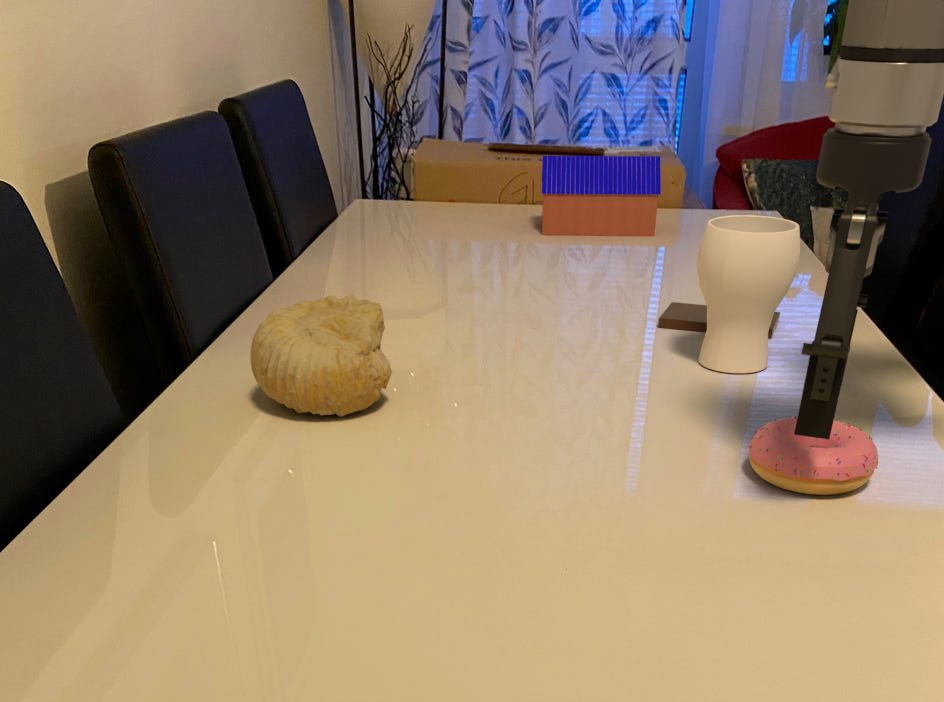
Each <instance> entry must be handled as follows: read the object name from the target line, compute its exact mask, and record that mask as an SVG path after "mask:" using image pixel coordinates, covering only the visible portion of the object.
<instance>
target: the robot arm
mask: <svg viewBox="0 0 944 702" xmlns="http://www.w3.org/2000/svg"><path fill="white" fill-rule="evenodd" d="M838 57H839V58H838V62H837V66H836V67H837V70H838V72H831V73H828V74H827V76H826V77H825V79H824V87H825V88H826V89H836V91H835V92H834V93H832V95H831V96H830V103H829V107H828V113H827V117H828V119H829V120H830V121H831V122H832V123H834V124H835V125H834V127H830V128H828V129H827V131H826V132H824V133H823V136H822V143H821V148H820V152H819V158H818V163H817V169H816V174H815V178H816V181H817V182H818V183H819V184H820V185H821V186H823V187H826V188H830V189H833V190H844V191H846V192H847V198H846V202H845V208H840V207H835V208H834V212H833V213H832V216H831V221H830V225H829V230H828V239H829V245H828V249H827V253H826V258H825V265H824V270H825V272H826V273H827V274H828V276H827V280H826V285H825V289H824V294H823V298H822V302H821V308H820V312H819V316H818V321H817V325H816V331H815V335H814V340H813V341H811V342H810V343H809V342H803V343H802V348H801V355H803V356H809V359H808V364H807V367H806V368H807V369H806V373H805V378H804V383H803V389H802V393H801V398H800V403H799V408H798V414H797V417H798V418H797V423H796V427H795V432H794V435H801V436H808V437H815V438H822V439H830V434H831V430H832V425H833V421H835V417H836V416H835V415H836V411H837V407H838V402H839V398H840V393H841V388H842V385H843V381H844V375H845V371H846V367H847V362H848V357H849V354H850V350H851V341H852V337H853V334H854V329H855V325H856V319H857V315H858V311H859V310H858V308H864V309H866V308H867V303H868V300H869V294H868V293H867V294H866V293H865V294H864V293H861V292H862V290H863V287H864V279H865V277H868V276H870V275H871V274H872V272H873V267H874V263H875V260H876V255H877V254H876V253H877V251H878V246H879V245H880V244H881V243H882V242H883V238H884V234H885V230H886V227H887V221H888V214H889V211H882V210H879V207H880V202H881V200H882V199H883V197H884V194H885V193H893V194H900V193H906V192H910V191H914V190H915V189H917V188H918V187H919V186H920V185H921V184H922V182H923V177H924V174H925V169H926V166H927V162H928V161H927V160H928V158H929V157H928V156H929V153H930V148H931V144H932V141H933V139H932V137H930V133H928V132H926V130H927V127H931V126H933V125H934V124H935V123H937V122H938V120H939V115H940V110H941V107H942V102H943V99H944V0H848V4H847V11H846V15H845V23H844V28H843V34H842V39H841V44H840V49H839V54H838Z"/></svg>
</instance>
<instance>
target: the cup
mask: <svg viewBox="0 0 944 702" xmlns="http://www.w3.org/2000/svg"><path fill="white" fill-rule="evenodd" d="M800 230H801V229H800V224H799V223H797V222H795V221H793V220H790V219H786V218H781V217H776V216H768V215H767V216H766V215H753V214H752V215H751V214H750V215H749V214H736V215H735V214H734V215H722V216H717V217H713V218H711V219H709V220H708V221H707V223H706V226H705V229H704V232H703V234H702V238H701V241H700V244H699V247H698V255H697V263H696V270H697V277H698V282H699V288H700V290H701V294H702V296H703V299H704V302H705V305H707V331H706V332H705V334H704V338H703V341H702V344H701V348H700V352H699V355H698V360H697V361H698V363H699V364H700V365H701V366H702V367H705V368H706V369H710V370H712V371H716V372H721V373H729V374H751V373H756V372H760V371H763V370H766V368H767V367H768V363H769V339H768V331H769V328H770V325H771V321H772V318H773V315H774V312H776V310H777V308H778V307H779V306H780V304H781V303H782V301H783V300H784V298H785V297H786V296H787V294H788V292H789V291H790V288H791V286H792V284H793V282H794V280H795V277H796V275H797V272H798V267H799V261H800V256H801V231H800Z"/></svg>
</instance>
